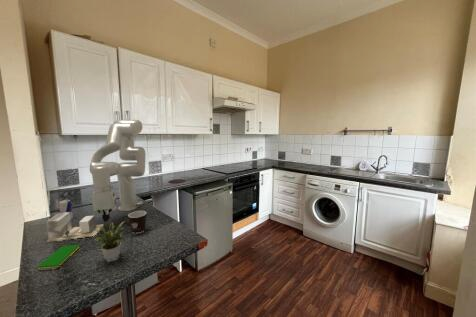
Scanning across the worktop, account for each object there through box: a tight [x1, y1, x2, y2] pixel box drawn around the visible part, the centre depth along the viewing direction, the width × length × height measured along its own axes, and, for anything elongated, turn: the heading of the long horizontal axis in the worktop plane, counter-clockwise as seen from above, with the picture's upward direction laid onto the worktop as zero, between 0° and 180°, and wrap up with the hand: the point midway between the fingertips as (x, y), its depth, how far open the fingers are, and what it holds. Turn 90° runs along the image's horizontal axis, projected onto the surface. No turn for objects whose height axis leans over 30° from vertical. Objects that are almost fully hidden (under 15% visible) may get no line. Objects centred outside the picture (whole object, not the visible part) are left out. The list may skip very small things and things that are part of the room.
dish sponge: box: [37, 244, 80, 270], centre depth 85 cm, size 7×14×2 cm, turn 9°
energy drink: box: [58, 199, 74, 221], centre depth 118 cm, size 5×5×12 cm
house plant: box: [92, 220, 126, 259], centre depth 84 cm, size 14×14×16 cm
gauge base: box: [46, 212, 104, 243], centre depth 104 cm, size 20×12×10 cm, turn 105°
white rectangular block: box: [78, 215, 97, 234], centre depth 105 cm, size 4×10×6 cm, turn 15°
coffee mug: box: [121, 210, 147, 233], centre depth 107 cm, size 12×9×10 cm
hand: (106, 220), depth 109 cm, fingers closed
